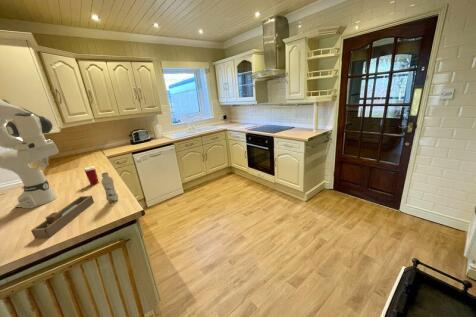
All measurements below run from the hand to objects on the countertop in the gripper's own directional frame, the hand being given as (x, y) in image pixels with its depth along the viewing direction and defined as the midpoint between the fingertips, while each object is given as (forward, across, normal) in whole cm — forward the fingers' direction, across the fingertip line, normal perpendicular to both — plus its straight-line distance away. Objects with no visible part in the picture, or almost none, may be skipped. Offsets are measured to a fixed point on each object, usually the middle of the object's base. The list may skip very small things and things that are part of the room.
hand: (45, 166), depth 116 cm
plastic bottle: (+31, -10, +25) cm, 41 cm away
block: (+28, +14, +8) cm, 33 cm away
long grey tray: (+31, +8, +8) cm, 33 cm away
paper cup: (+31, -43, -10) cm, 54 cm away
